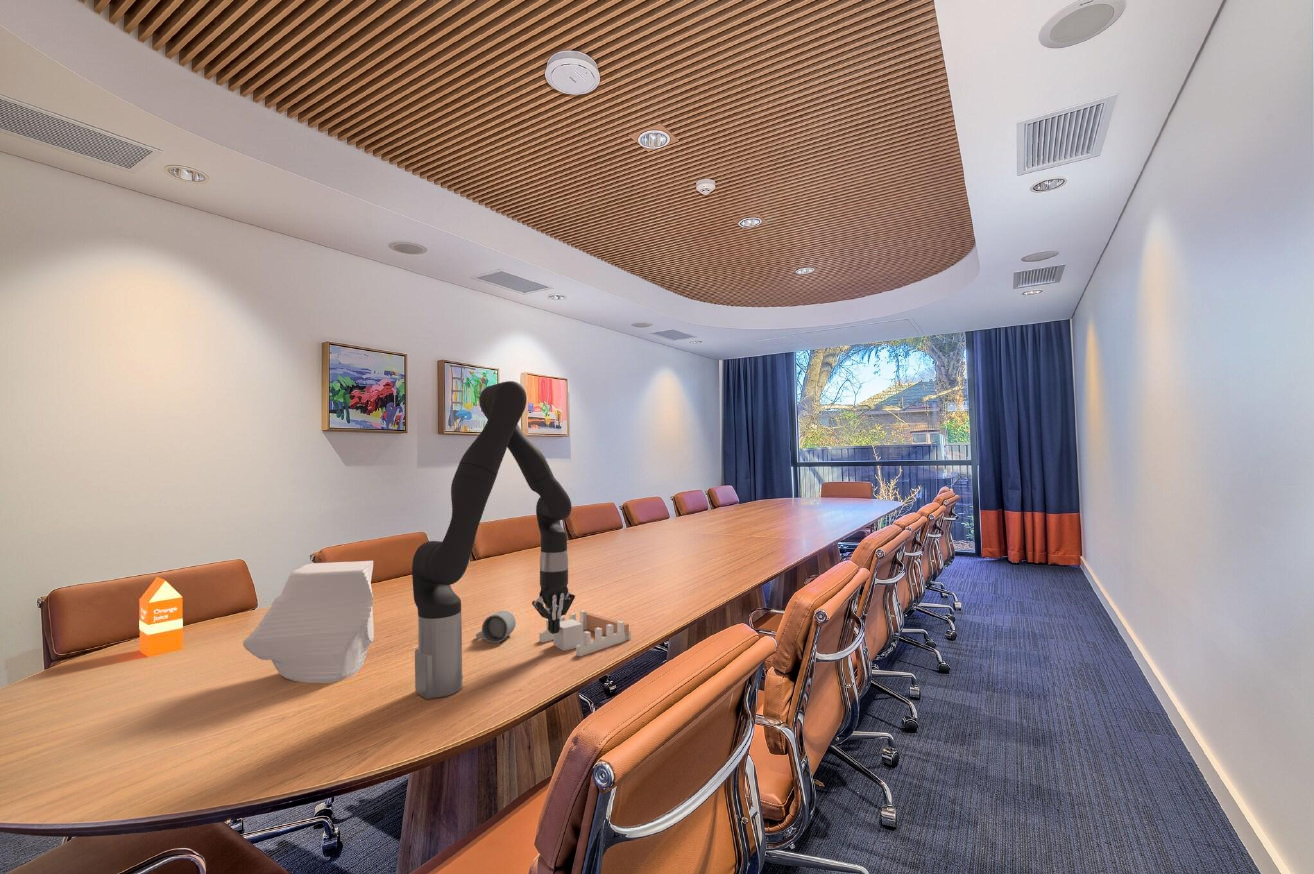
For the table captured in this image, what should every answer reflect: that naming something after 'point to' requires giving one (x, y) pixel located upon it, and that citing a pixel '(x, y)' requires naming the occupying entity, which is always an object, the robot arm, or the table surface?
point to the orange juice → (160, 619)
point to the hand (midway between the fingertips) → (554, 632)
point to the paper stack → (318, 623)
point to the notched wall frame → (599, 625)
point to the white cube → (569, 635)
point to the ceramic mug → (497, 627)
